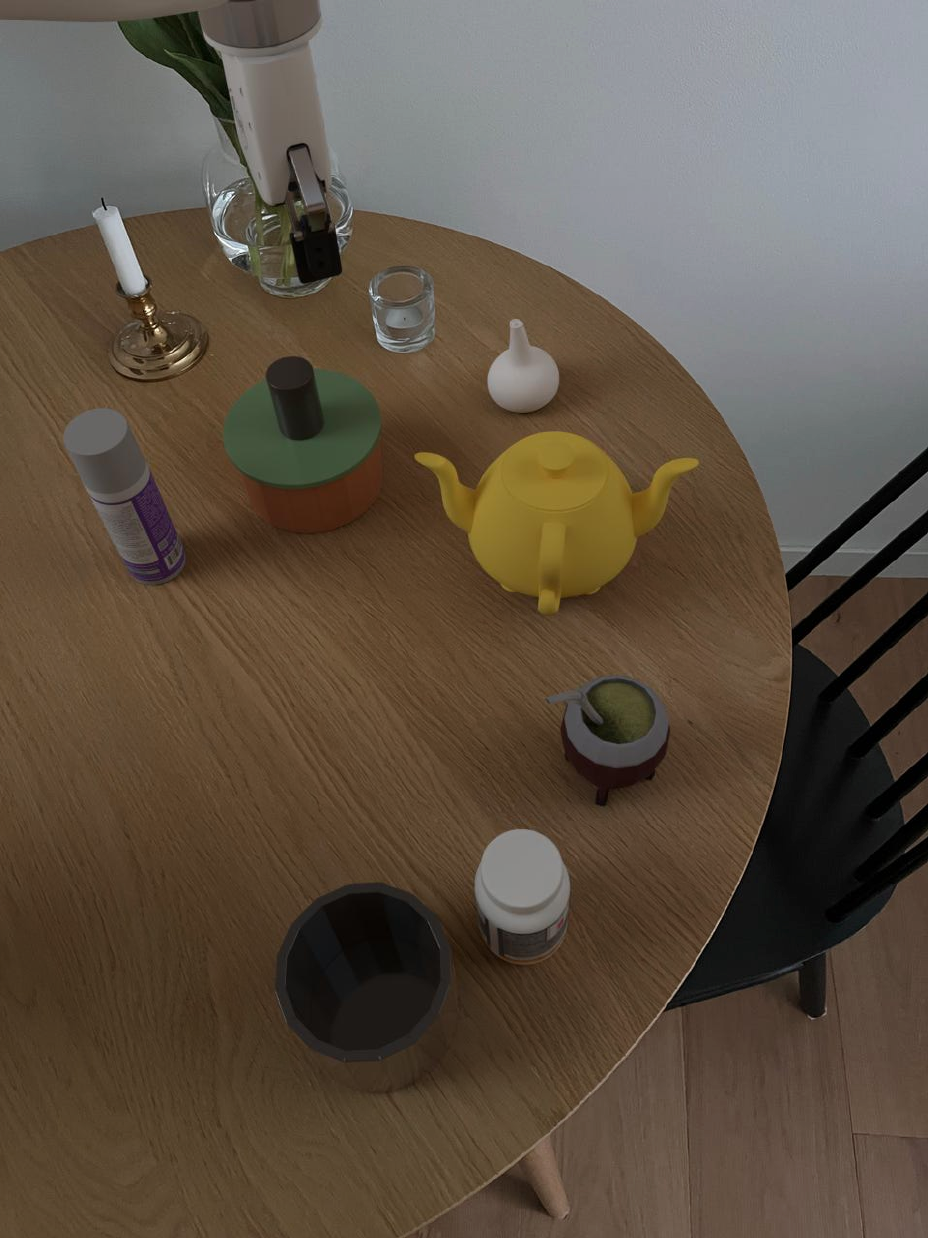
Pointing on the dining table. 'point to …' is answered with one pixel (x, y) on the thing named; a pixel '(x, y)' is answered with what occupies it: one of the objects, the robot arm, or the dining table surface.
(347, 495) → the bowl
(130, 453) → the container
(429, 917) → the cup
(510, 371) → the garlic bulb
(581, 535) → the teapot
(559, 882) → the pill bottle
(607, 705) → the mate gourd
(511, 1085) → the dining table surface
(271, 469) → the lid
